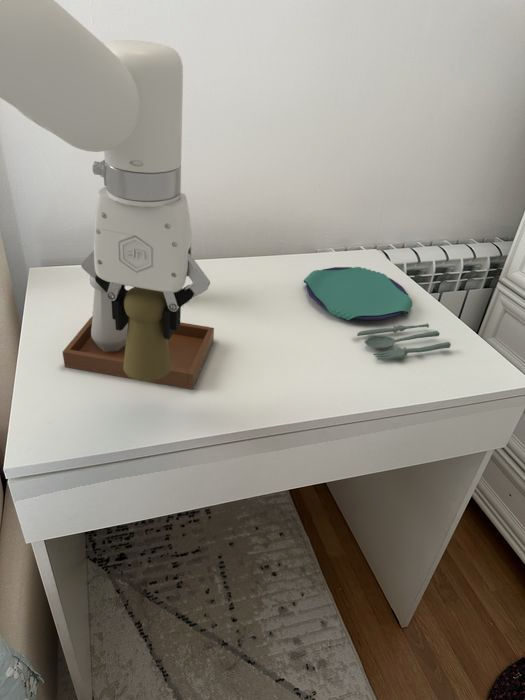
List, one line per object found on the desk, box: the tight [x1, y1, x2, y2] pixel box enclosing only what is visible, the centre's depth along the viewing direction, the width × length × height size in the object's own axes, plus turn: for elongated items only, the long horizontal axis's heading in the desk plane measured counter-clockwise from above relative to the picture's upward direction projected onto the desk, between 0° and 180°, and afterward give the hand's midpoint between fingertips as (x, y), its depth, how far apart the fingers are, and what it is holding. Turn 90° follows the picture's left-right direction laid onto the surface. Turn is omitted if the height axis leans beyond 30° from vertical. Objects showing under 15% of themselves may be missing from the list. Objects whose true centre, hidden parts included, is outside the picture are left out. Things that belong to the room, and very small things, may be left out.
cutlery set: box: [303, 266, 452, 361], centre depth 99 cm, size 20×30×2 cm, turn 19°
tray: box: [62, 315, 215, 390], centre depth 83 cm, size 20×13×3 cm, turn 81°
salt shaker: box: [89, 275, 128, 352], centre depth 80 cm, size 6×6×13 cm
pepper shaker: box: [123, 287, 171, 382], centre depth 65 cm, size 6×6×11 cm
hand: (146, 327), depth 65 cm, fingers closed on pepper shaker, 5 cm apart
